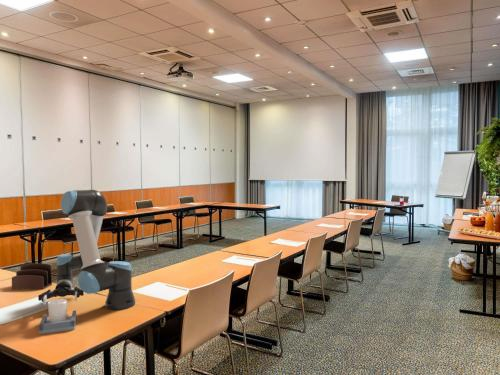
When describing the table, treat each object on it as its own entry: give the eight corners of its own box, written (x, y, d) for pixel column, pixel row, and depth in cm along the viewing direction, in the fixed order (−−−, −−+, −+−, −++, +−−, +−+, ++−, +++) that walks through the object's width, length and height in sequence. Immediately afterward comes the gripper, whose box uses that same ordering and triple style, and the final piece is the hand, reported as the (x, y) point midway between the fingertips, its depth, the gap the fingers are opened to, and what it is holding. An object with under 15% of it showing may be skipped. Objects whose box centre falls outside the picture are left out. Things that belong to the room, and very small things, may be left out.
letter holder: (21, 284, 243) (21, 262, 242) (52, 284, 242) (51, 262, 242) (11, 289, 233) (10, 266, 232) (43, 289, 232) (43, 266, 232)
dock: (43, 322, 180) (43, 314, 179) (76, 318, 185) (76, 310, 184) (39, 334, 166) (39, 325, 166) (74, 329, 172) (74, 320, 171)
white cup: (49, 321, 178) (49, 299, 177) (68, 318, 180) (67, 297, 180) (47, 327, 170) (46, 305, 170) (66, 324, 173) (66, 302, 173)
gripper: (89, 292, 207) (88, 304, 188) (36, 297, 198) (30, 311, 178) (88, 278, 207) (88, 289, 187) (36, 283, 198) (30, 295, 178)
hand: (60, 300), depth 183 cm, fingers open, 13 cm apart
